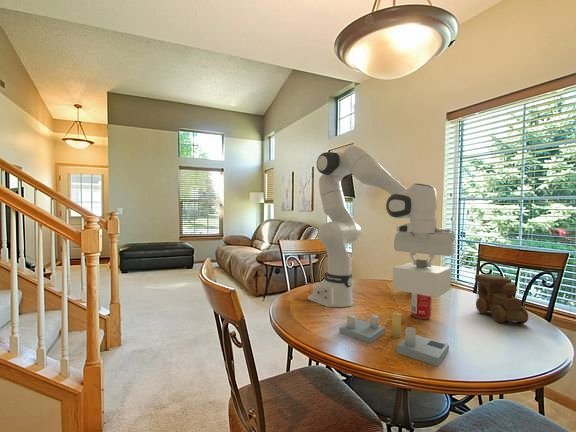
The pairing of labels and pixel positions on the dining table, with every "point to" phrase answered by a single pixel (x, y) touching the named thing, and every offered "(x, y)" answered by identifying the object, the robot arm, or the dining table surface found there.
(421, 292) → the cover
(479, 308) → the wooden toy train
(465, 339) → the dining table surface
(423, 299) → the soda can
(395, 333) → the peg
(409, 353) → the board
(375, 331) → the board
